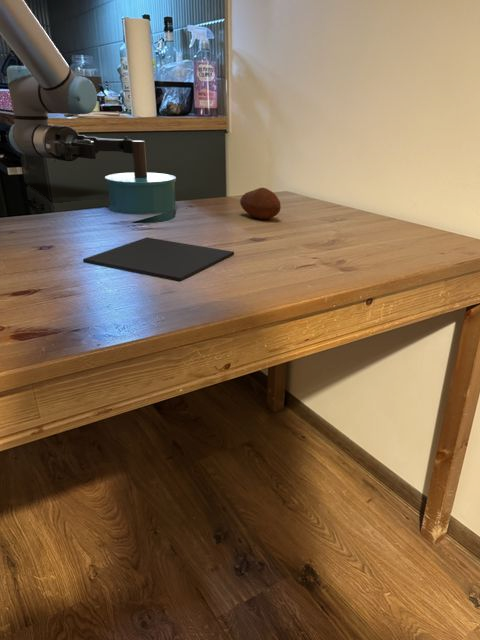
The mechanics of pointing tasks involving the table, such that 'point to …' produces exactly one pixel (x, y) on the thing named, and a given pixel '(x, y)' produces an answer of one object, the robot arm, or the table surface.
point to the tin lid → (140, 171)
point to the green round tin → (144, 200)
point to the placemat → (160, 258)
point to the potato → (260, 203)
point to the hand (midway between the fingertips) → (120, 150)
